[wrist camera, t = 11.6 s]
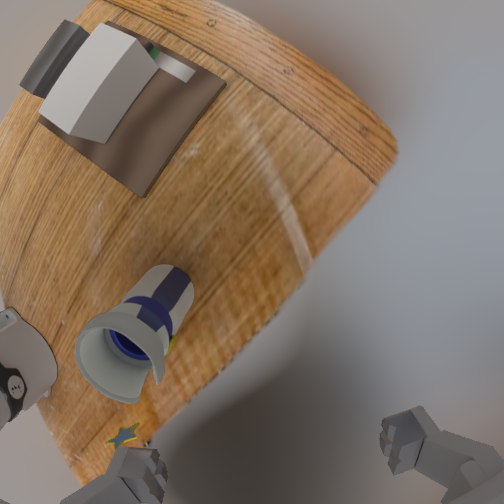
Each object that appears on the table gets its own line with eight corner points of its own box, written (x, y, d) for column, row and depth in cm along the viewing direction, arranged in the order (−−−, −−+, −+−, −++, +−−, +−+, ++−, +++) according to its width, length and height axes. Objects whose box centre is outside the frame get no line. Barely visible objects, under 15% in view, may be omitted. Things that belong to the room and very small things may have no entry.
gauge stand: (226, 85, 35) (220, 55, 25) (145, 197, 37) (115, 201, 28) (111, 24, 32) (85, -5, 22) (42, 122, 34) (4, 112, 25)
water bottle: (211, 289, 40) (169, 421, 16) (173, 330, 41) (111, 465, 17) (164, 248, 39) (60, 333, 14) (129, 292, 40) (25, 397, 16)
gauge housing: (169, 55, 32) (150, 23, 23) (104, 143, 34) (68, 134, 25) (125, 33, 30) (99, 3, 22) (65, 116, 33) (27, 103, 24)
